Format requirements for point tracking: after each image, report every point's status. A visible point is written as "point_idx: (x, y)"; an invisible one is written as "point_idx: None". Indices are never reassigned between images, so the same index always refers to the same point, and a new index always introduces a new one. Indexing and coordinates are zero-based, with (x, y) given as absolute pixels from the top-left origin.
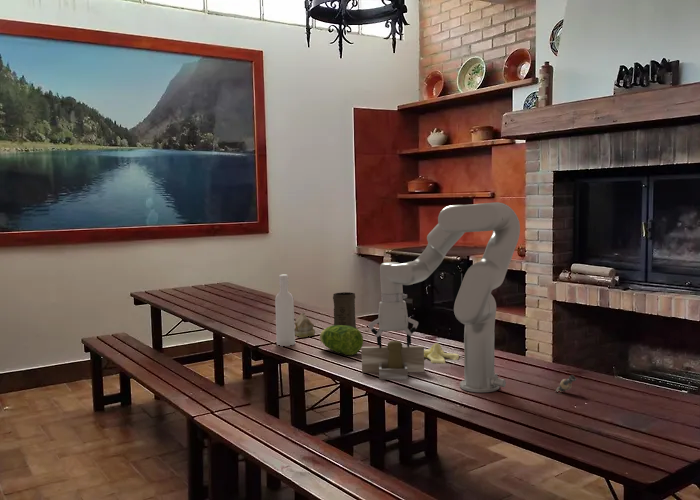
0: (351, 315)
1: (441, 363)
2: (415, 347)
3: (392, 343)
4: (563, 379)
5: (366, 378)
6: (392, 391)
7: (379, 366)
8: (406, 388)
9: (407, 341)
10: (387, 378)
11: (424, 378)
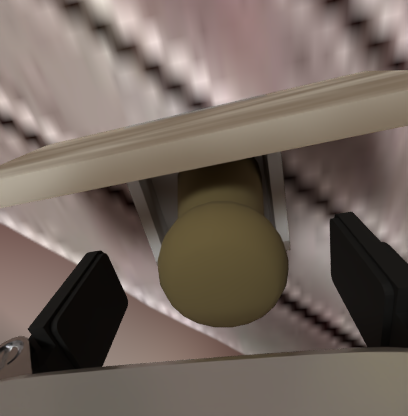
0: None
1: None
2: (401, 125)
3: (210, 325)
4: None
5: (113, 236)
6: (241, 339)
7: (144, 226)
8: (282, 313)
9: (355, 316)
10: None
11: (354, 200)
